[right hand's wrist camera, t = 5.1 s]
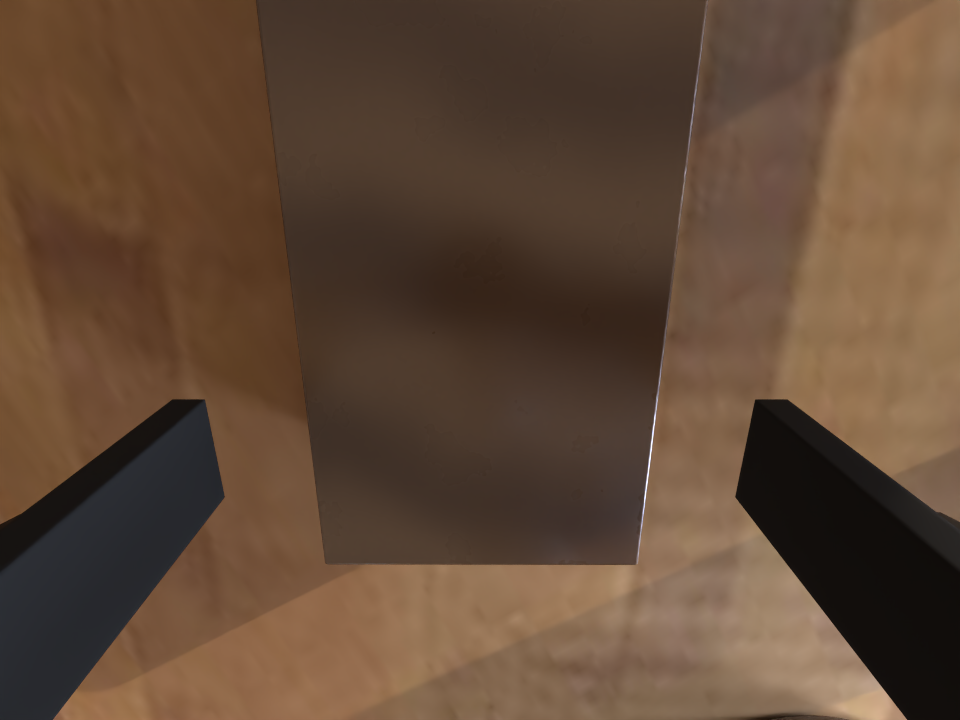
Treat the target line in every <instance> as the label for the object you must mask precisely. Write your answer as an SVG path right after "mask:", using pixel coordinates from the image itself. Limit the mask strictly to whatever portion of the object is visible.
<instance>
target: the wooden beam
mask: <svg viewBox="0 0 960 720" xmlns="http://www.w3.org/2000/svg"><path fill="white" fill-rule="evenodd" d="M256 4H257V13H258V21H259V29H260V37H261V45H262V53H263V61H264V69H265V78H266V86H267V94H268V102H269V110H270V118H271V126H272V134H273V142H274V151H275V159H276V167H277V175H278V183H279V191H280V199H281V207H282V216H283V224H284V232H285V240H286V248H287V256H288V264H289V272H290V281H291V289H292V297H293V305H294V313H295V321H296V329H297V337H298V346H299V354H300V362H301V370H302V378H303V386H304V394H305V402H306V411H307V419H308V427H309V435H310V443H311V451H312V459H313V467H314V475H315V484H316V492H317V500H318V508H319V516H320V524H321V532H322V540H323V549H324V557H325V563H326V564H439V565H636V564H637V563H638V555H639V547H640V539H641V531H642V523H643V515H644V507H645V499H646V491H647V483H648V475H649V467H650V459H651V451H652V443H653V436H654V428H655V420H656V412H657V404H658V396H659V388H660V380H661V372H662V364H663V356H664V348H665V340H666V332H667V324H668V316H669V308H670V300H671V292H672V284H673V276H674V268H675V260H676V252H677V244H678V236H679V228H680V220H681V212H682V204H683V196H684V188H685V180H686V172H687V164H688V156H689V148H690V141H691V133H692V125H693V117H694V109H695V101H696V93H697V85H698V77H699V69H700V61H701V53H702V45H703V37H704V29H705V21H706V13H707V5H708V0H256Z"/></svg>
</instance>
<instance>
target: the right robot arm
mask: <svg viewBox="0 0 960 720" xmlns="http://www.w3.org/2000/svg"><path fill="white" fill-rule="evenodd" d="M224 497H225V496H224V491H223V486H222V481H221V477H220V472H219V467H218V462H217V457H216V452H215V447H214V442H213V437H212V432H211V428H210V423H209V418H208V413H207V408H206V403H205V400H171V401H170V402H169V403H167V404H166V405H165V406H163V407H162V408H161V409H159V410H158V411H157V412H155V413H154V414H153V415H152V416H150V417H149V418H148V419H146V420H145V421H144V422H142V423H141V424H140V425H138V426H137V427H136V428H134V429H133V430H132V431H130V432H129V433H128V434H126V435H125V436H124V437H122V438H121V439H120V440H118V441H117V442H116V443H115V444H113V445H112V446H111V447H109V448H108V449H107V450H105V451H104V452H103V453H101V454H100V455H99V456H97V457H96V458H95V459H93V460H92V461H91V462H89V463H88V464H87V465H85V466H84V467H83V468H82V469H80V470H79V471H78V472H76V473H75V474H74V475H72V476H71V477H70V478H68V479H67V480H66V481H64V482H63V483H62V484H60V485H59V486H58V487H56V488H55V489H54V490H52V491H51V492H50V493H48V494H47V495H46V496H45V497H43V498H42V499H41V500H39V501H38V502H37V503H35V504H34V505H33V506H31V507H30V508H29V509H27V510H26V511H25V512H23V513H22V514H20V515H18V516H16V517H14V518H12V519H10V520H8V521H6V522H4V523H2V524H0V720H53V719H54V717H55V716H56V715H57V713H58V712H59V711H60V710H61V708H62V707H63V706H64V704H65V703H66V702H67V701H68V699H69V698H70V697H71V695H72V694H73V693H74V691H75V690H76V689H77V688H78V686H79V685H80V684H81V682H82V681H83V680H84V679H85V677H86V676H87V675H88V673H89V672H90V671H91V669H92V668H93V667H94V666H95V664H96V663H97V662H98V660H99V659H100V658H101V657H102V655H103V654H104V653H105V651H106V650H107V649H108V647H109V646H110V645H111V644H112V642H113V641H114V640H115V638H116V637H117V636H118V635H119V633H120V632H121V631H122V629H123V628H124V627H125V625H126V624H127V623H128V622H129V620H130V619H131V618H132V616H133V615H134V614H135V613H136V611H137V610H138V609H139V607H140V606H141V605H142V603H143V602H144V601H145V600H146V598H147V597H148V596H149V594H150V593H151V592H152V591H153V589H154V588H155V587H156V585H157V584H158V583H159V582H160V580H161V579H162V578H163V576H164V575H165V574H166V572H167V571H168V570H169V569H170V567H171V566H172V565H173V563H174V562H175V561H176V560H177V558H178V557H179V556H180V554H181V553H182V552H183V550H184V549H185V548H186V547H187V545H188V544H189V543H190V541H191V540H192V539H193V538H194V536H195V535H196V534H197V532H198V531H199V530H200V528H201V527H202V526H203V525H204V523H205V522H206V521H207V519H208V518H209V517H210V516H211V514H212V513H213V512H214V510H215V509H216V508H217V506H218V505H219V504H220V503H221V501H222V500H223V499H224ZM735 497H736V499H737V500H738V501H739V503H740V504H741V505H742V506H743V508H744V509H745V510H746V512H747V513H748V514H749V516H750V517H751V518H752V519H753V521H754V522H755V523H756V525H757V526H758V527H759V528H760V530H761V531H762V532H763V534H764V535H765V536H766V538H767V539H768V540H769V541H770V543H771V544H772V545H773V547H774V548H775V549H776V550H777V552H778V553H779V554H780V556H781V557H782V558H783V560H784V561H785V562H786V563H787V565H788V566H789V567H790V569H791V570H792V571H793V572H794V574H795V575H796V576H797V578H798V579H799V580H800V582H801V583H802V584H803V585H804V587H805V588H806V589H807V591H808V592H809V593H810V594H811V596H812V597H813V598H814V600H815V601H816V602H817V603H818V605H819V606H820V607H821V609H822V610H823V611H824V613H825V614H826V615H827V616H828V618H829V619H830V620H831V622H832V623H833V624H834V625H835V627H836V628H837V629H838V631H839V632H840V633H841V635H842V636H843V637H844V638H845V640H846V641H847V642H848V644H849V645H850V646H851V647H852V649H853V650H854V651H855V653H856V654H857V655H858V657H859V658H860V659H861V660H862V662H863V663H864V664H865V666H866V667H867V668H868V669H869V671H870V672H871V673H872V675H873V676H874V677H875V679H876V680H877V681H878V682H879V684H880V685H881V686H882V688H883V689H884V690H885V691H886V693H887V694H888V695H889V697H890V698H891V699H892V701H893V702H894V703H895V704H896V706H897V707H898V708H899V710H900V711H901V712H902V713H903V715H904V716H905V717H906V719H907V720H960V522H958V521H956V520H954V519H952V518H950V517H948V516H946V515H944V514H943V513H941V512H935V511H934V510H933V509H931V508H930V507H929V506H927V505H926V504H925V503H923V502H922V501H921V500H919V499H918V498H917V497H915V496H914V495H913V494H912V493H910V492H909V491H908V490H906V489H905V488H904V487H902V486H901V485H900V484H898V483H897V482H896V481H894V480H893V479H892V478H890V477H889V476H888V475H886V474H885V473H884V472H882V471H881V470H880V469H878V468H877V467H876V466H875V465H873V464H872V463H871V462H869V461H868V460H867V459H865V458H864V457H863V456H861V455H860V454H859V453H857V452H856V451H855V450H853V449H852V448H851V447H849V446H848V445H847V444H845V443H844V442H843V441H842V440H840V439H839V438H838V437H836V436H835V435H834V434H832V433H831V432H830V431H828V430H827V429H826V428H824V427H823V426H822V425H820V424H819V423H818V422H816V421H815V420H814V419H812V418H811V417H810V416H808V415H807V414H806V413H805V412H803V411H802V410H801V409H799V408H798V407H797V406H795V405H794V404H793V403H791V402H790V401H789V400H755V403H754V408H753V413H752V418H751V423H750V428H749V432H748V437H747V442H746V447H745V452H744V457H743V462H742V467H741V472H740V476H739V481H738V486H737V491H736V496H735ZM771 720H847V719H842V718H835V717H827V716H793V717H784V718H777V719H771Z"/></svg>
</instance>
